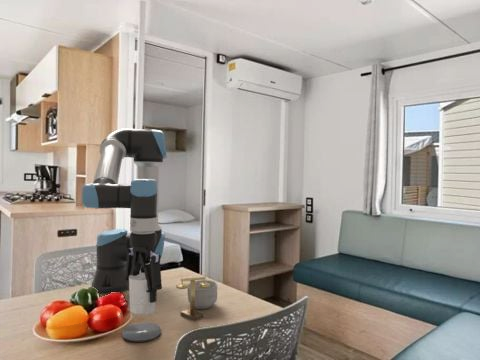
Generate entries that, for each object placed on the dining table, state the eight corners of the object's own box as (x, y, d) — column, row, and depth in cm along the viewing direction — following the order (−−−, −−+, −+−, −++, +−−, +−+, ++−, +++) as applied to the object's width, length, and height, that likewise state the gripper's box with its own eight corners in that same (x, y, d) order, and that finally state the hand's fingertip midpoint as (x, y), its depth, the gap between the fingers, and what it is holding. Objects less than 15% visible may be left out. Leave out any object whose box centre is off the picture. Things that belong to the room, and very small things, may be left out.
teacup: (212, 313, 123) (212, 290, 123) (182, 310, 126) (182, 287, 125) (222, 299, 137) (222, 278, 137) (195, 296, 139) (195, 276, 139)
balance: (173, 312, 124) (174, 270, 123) (182, 308, 127) (182, 268, 126) (203, 324, 114) (204, 279, 114) (211, 320, 117) (212, 276, 117)
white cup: (145, 303, 112) (145, 270, 112) (161, 309, 107) (162, 276, 107) (122, 310, 106) (123, 276, 105) (138, 317, 101) (139, 282, 100)
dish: (114, 334, 106) (114, 330, 106) (146, 323, 114) (146, 319, 114) (136, 347, 99) (136, 343, 99) (168, 334, 107) (168, 330, 107)
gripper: (112, 228, 109) (111, 303, 110) (154, 238, 96) (152, 323, 97) (134, 226, 115) (133, 297, 116) (176, 234, 102) (174, 314, 103)
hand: (142, 309), depth 106 cm, fingers closed on white cup, 7 cm apart
